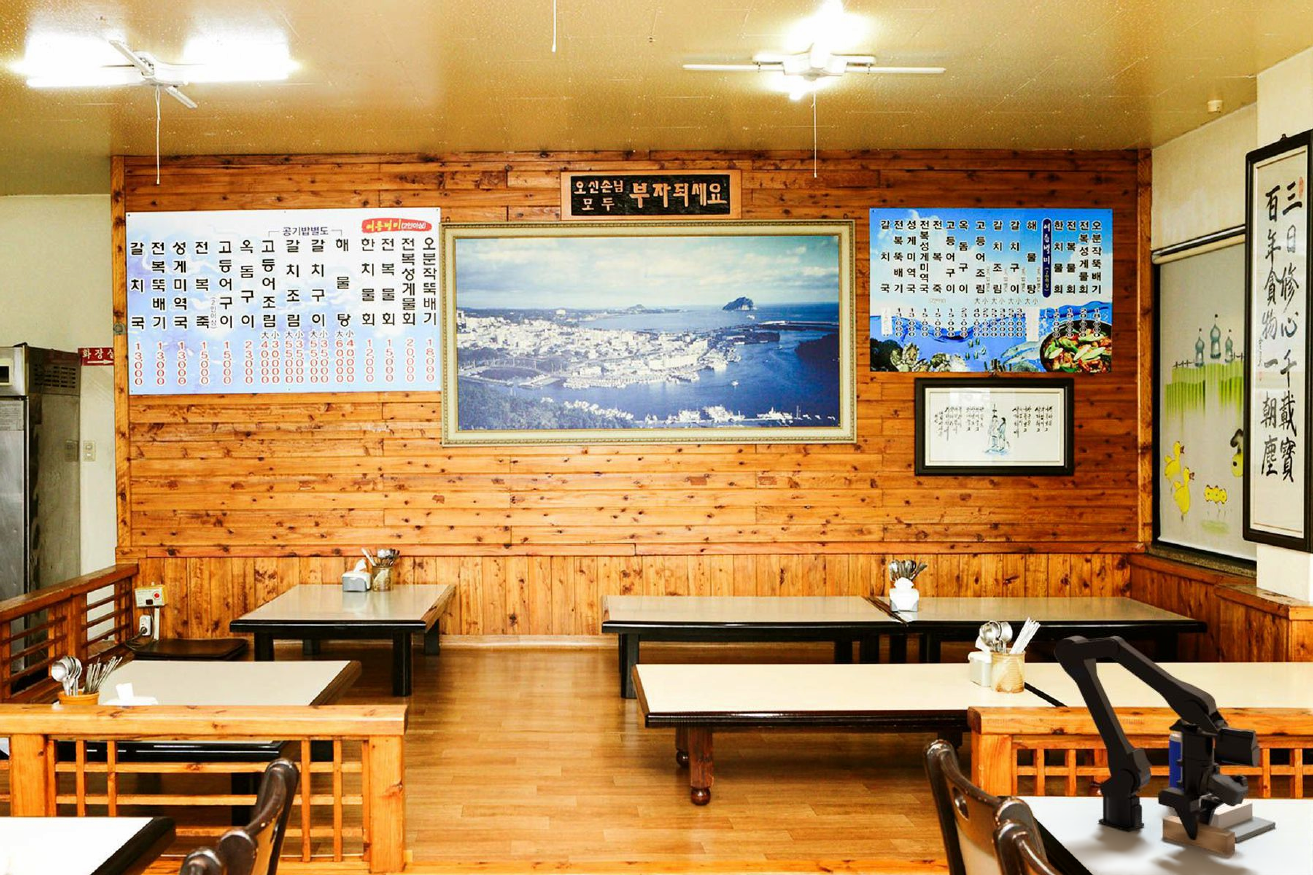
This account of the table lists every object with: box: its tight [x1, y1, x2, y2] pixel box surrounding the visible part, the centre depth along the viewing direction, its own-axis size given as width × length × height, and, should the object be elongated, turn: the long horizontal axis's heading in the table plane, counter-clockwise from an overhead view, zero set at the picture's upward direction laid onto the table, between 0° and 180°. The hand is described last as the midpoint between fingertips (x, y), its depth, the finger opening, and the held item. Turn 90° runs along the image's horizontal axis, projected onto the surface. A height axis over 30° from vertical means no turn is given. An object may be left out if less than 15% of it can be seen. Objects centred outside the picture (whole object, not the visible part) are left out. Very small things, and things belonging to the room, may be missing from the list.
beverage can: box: [1168, 732, 1183, 790], centre depth 219 cm, size 5×5×15 cm
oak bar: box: [1162, 814, 1236, 855], centre depth 195 cm, size 12×4×4 cm, turn 39°
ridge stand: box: [1210, 800, 1276, 843], centre depth 205 cm, size 10×16×4 cm, turn 125°
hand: (1198, 837), depth 195 cm, fingers closed on oak bar, 4 cm apart
